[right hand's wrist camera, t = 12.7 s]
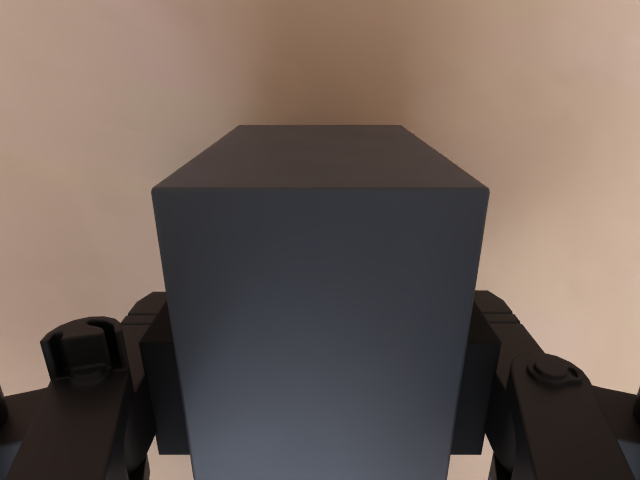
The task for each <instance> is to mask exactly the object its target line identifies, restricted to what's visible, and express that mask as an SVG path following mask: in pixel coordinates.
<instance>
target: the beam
mask: <svg viewBox="0 0 640 480" xmlns="http://www.w3.org/2000/svg"><path fill="white" fill-rule="evenodd" d="M489 193H490V191H489V188H488V187H486V186H485V185H483V184H482V183H481V182H479V181H478V180H476V179H475V178H474V177H472V176H471V175H469V174H468V173H467V172H465V171H464V170H462V169H461V168H460V167H458V166H457V165H455V164H454V163H453V162H451V161H450V160H449V159H447V158H446V157H444V156H443V155H442V154H440V153H439V152H437V151H436V150H435V149H433V148H432V147H430V146H429V145H428V144H426V143H425V142H423V141H422V140H421V139H419V138H418V137H416V136H415V135H414V134H412V133H411V132H410V131H408V130H407V129H405V128H404V127H403V126H401V125H240V126H238V127H236V128H235V129H233V130H232V131H231V132H229V133H228V134H227V135H225V136H224V137H222V138H221V139H220V140H218V141H217V142H215V143H214V144H213V145H211V146H210V147H209V148H207V149H206V150H204V151H203V152H202V153H200V154H199V155H198V156H196V157H195V158H193V159H192V160H191V161H189V162H188V163H186V164H185V165H184V166H182V167H181V168H180V169H178V170H177V171H175V172H174V173H173V174H171V175H170V176H168V177H167V178H166V179H164V180H163V181H162V182H160V183H159V184H157V185H156V186H155V187H153V188H152V191H151V194H152V201H153V208H154V215H155V221H156V228H157V235H158V242H159V248H160V255H161V262H162V269H163V275H164V282H165V289H166V295H167V302H168V309H169V316H170V322H171V329H172V336H173V343H174V349H175V356H176V363H177V370H178V376H179V383H180V390H181V397H182V403H183V410H184V417H185V424H186V430H187V437H188V444H189V451H190V457H191V464H192V471H193V478H194V480H447V474H448V468H449V461H450V454H451V448H452V441H453V434H454V427H455V421H456V414H457V407H458V401H459V394H460V387H461V381H462V374H463V367H464V360H465V354H466V347H467V340H468V334H469V327H470V320H471V313H472V307H473V300H474V293H475V287H476V280H477V273H478V267H479V260H480V253H481V246H482V240H483V233H484V226H485V220H486V213H487V206H488V199H489Z"/></svg>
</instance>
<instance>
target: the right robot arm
mask: <svg viewBox="0 0 640 480" xmlns="http://www.w3.org/2000/svg"><path fill="white" fill-rule="evenodd" d="M40 344H41V348H42V351H43V355H44V358H45V362H46V365H47V369H48V372H49V376H50V379H51V381H50V383H49V385H48V387H47V388H43V389H39V390H34V391H30V392H25V393H20V394H15V395H10V396H5V397H4V395H3V392H2V389H1V386H0V480H149V476H150V468H149V462H148V457H147V452H148V450H149V448H150V445H151V443H152V441H153V439H154V436H155V435H156V440H157V445H158V451H159V455H190V451H189V444H188V437H187V430H186V424H185V417H184V410H183V403H182V397H181V390H180V383H179V376H178V370H177V363H176V356H175V349H174V343H173V336H172V329H171V322H170V316H169V309H168V302H167V295H166V292H152V293H150V294H149V295H147V296H146V297H144V298H142V299H141V300H139V301H138V302H137V303H136V304H135V305H134V307H133V308H132V309H131V310H130V312H129V313H128V316H126V317H125V318H124V319H123V321H122V322H121V323H120V322H118V321H117V320H116V319H114V318H109V317H105V316H100V317H87V318H82V319H77V320H74V321H71V322H68V323H66V324H63V325H60V326H59V327H57V328H55V329H54V330H52V331H51V332H49V333H47V335H46V336H45V337H44V338H43V339H42V340H41V341H40ZM485 434H486V436H487V438H488V440H489V442H490V445H491V447H492V449H493V451H494V452H493V457H492V462H491V467H490V472H489V477H488V480H640V387H639V390H638V393H637V395H635V394H630V393H625V392H620V391H615V390H610V389H605V388H601V387H597V386H593V385H591V382H590V380H589V379H588V378H587V376H586V375H585V374H584V372H583V371H582V370H581V369H579V368H578V367H576V366H575V365H574V364H572V363H571V362H569V361H566V360H564V359H562V358H560V357H557V356H554V355H550V354H546V353H544V352H543V350H542V349H541V348H540V346H539V345H538V344H537V343H536V341H535V340H534V339H533V338H532V336H531V335H530V334H529V332H528V331H527V330H526V329H525V327H524V326H523V325H522V324H520V321H519V320H518V318H517V317H516V316H515V315H514V314H512V311H511V309H510V308H509V307H508V306H507V304H506V303H505V302H504V301H503V300H502V299H500V298H499V297H497V296H496V295H494V294H492V293H491V292H489V291H475V293H474V300H473V307H472V313H471V320H470V327H469V334H468V340H467V347H466V354H465V360H464V367H463V374H462V381H461V387H460V394H459V401H458V407H457V414H456V421H455V427H454V434H453V441H452V448H451V454H450V455H481V452H482V447H483V442H484V436H485Z"/></svg>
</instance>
